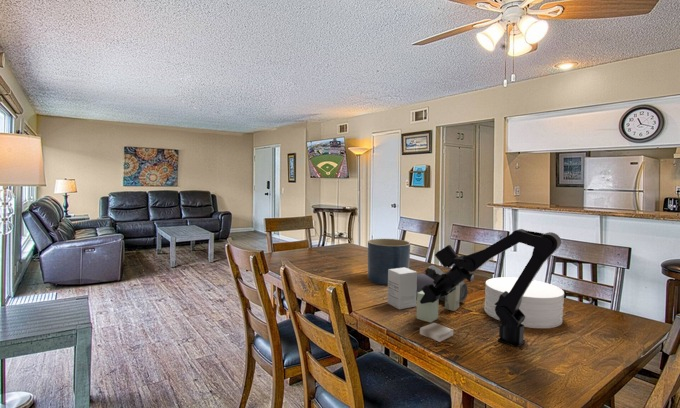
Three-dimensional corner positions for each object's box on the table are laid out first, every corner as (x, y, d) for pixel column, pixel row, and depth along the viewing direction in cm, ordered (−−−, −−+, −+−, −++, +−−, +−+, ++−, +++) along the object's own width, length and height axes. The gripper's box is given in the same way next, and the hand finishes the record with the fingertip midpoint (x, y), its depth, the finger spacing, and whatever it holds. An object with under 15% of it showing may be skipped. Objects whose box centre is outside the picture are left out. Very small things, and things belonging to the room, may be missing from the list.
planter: (364, 284, 187) (365, 244, 185) (368, 273, 208) (369, 237, 207) (409, 287, 183) (410, 246, 182) (408, 275, 205) (409, 239, 203)
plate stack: (473, 314, 148) (474, 286, 147) (498, 298, 168) (500, 273, 167) (551, 335, 129) (553, 303, 128) (569, 314, 149) (571, 287, 148)
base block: (453, 336, 127) (453, 329, 127) (439, 343, 122) (439, 335, 122) (433, 329, 133) (433, 322, 133) (419, 335, 128) (419, 328, 128)
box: (449, 305, 157) (450, 276, 156) (459, 308, 154) (460, 277, 153) (444, 309, 153) (445, 278, 152) (454, 311, 150) (455, 280, 149)
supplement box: (403, 300, 163) (404, 266, 162) (416, 306, 155) (417, 271, 154) (386, 303, 159) (387, 268, 158) (398, 309, 151) (399, 273, 150)
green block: (437, 318, 143) (438, 292, 142) (430, 322, 138) (431, 296, 137) (423, 314, 146) (424, 289, 146) (416, 318, 142) (417, 292, 141)
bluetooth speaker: (467, 301, 162) (468, 279, 162) (459, 307, 155) (460, 284, 155) (421, 291, 177) (421, 270, 176) (411, 295, 170) (412, 274, 169)
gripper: (449, 256, 145) (422, 278, 153) (427, 264, 131) (399, 288, 139) (468, 279, 141) (440, 301, 149) (448, 290, 126) (417, 314, 134)
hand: (424, 300), depth 143 cm, fingers closed on green block, 6 cm apart
